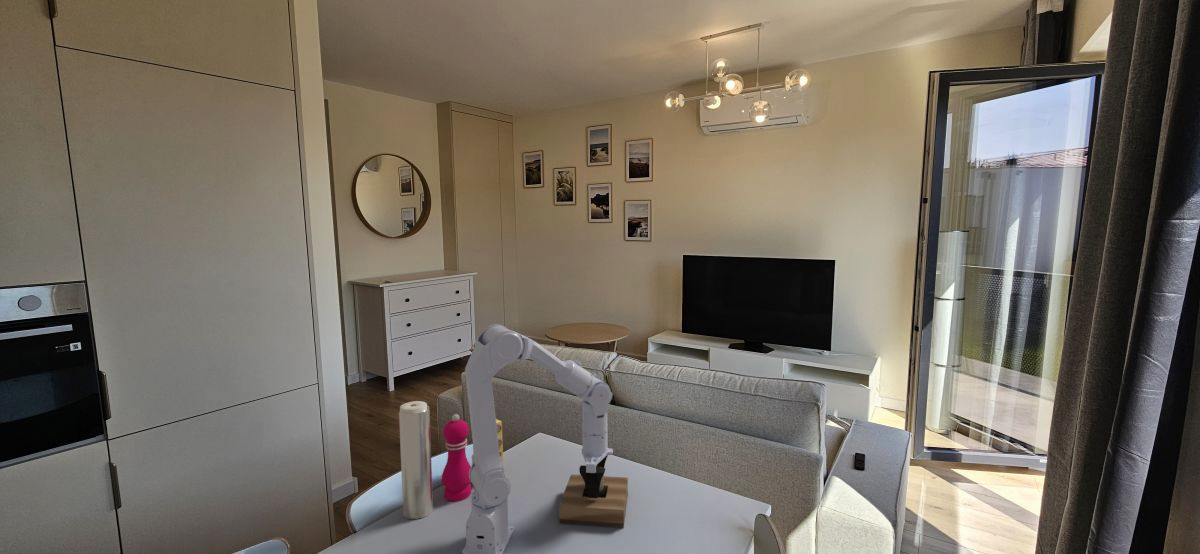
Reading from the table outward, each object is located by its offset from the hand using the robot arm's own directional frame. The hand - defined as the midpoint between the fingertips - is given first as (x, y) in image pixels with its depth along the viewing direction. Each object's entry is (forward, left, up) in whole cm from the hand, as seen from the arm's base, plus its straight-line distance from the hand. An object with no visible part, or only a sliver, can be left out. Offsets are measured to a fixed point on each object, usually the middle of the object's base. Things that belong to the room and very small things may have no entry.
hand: (595, 488), depth 110 cm
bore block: (0, 0, -5) cm, 5 cm away
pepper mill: (+2, +34, -5) cm, 34 cm away
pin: (0, 0, -4) cm, 4 cm away
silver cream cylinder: (-6, +40, -5) cm, 41 cm away
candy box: (+12, +30, -5) cm, 33 cm away
